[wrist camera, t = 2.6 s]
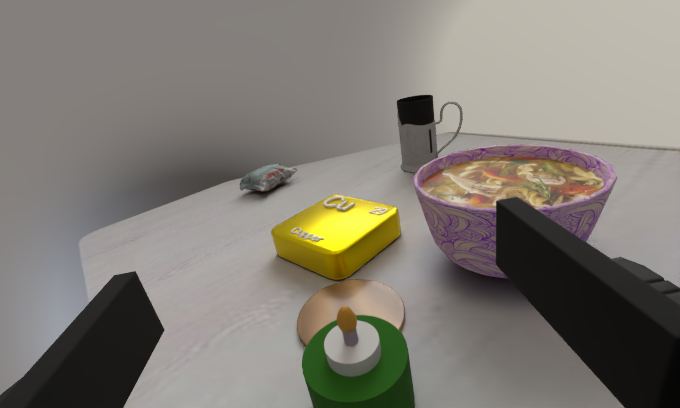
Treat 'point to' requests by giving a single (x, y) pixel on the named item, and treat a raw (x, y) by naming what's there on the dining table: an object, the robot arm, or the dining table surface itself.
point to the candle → (358, 364)
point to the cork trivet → (349, 305)
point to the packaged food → (266, 177)
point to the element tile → (337, 235)
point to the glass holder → (419, 131)
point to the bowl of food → (508, 195)
